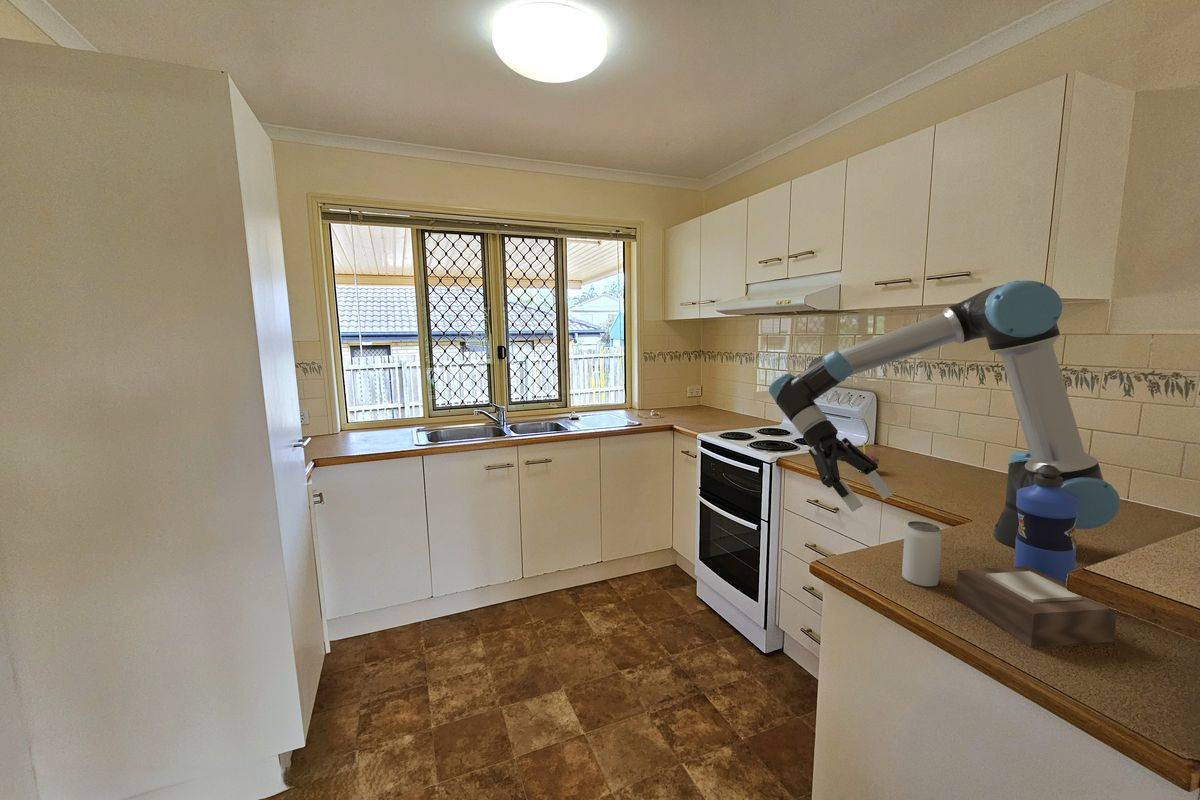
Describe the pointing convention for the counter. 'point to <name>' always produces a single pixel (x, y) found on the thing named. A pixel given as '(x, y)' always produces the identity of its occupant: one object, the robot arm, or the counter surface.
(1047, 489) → the water bottle
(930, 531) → the can
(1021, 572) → the riser
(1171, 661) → the counter surface
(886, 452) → the counter surface
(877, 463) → the cupcake
